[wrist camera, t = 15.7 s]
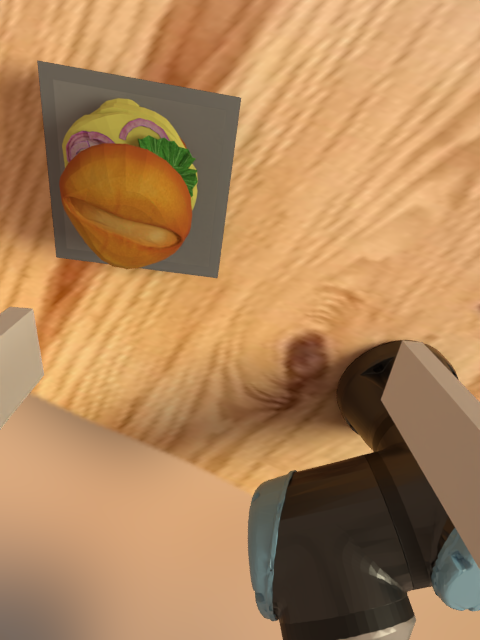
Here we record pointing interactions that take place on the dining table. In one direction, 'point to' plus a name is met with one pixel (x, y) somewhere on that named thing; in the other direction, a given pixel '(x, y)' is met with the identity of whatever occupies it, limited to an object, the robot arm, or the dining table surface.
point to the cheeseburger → (128, 184)
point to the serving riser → (190, 124)
